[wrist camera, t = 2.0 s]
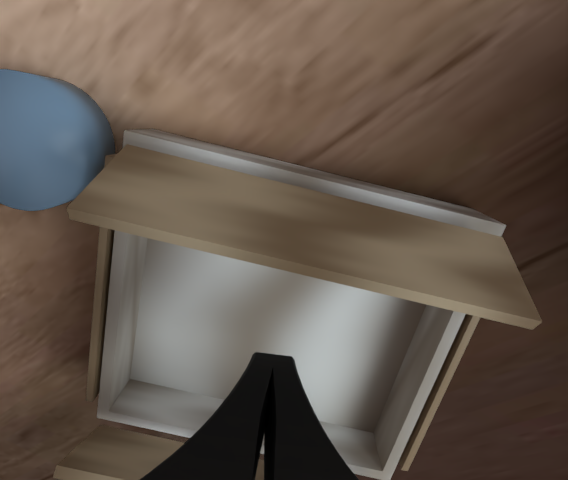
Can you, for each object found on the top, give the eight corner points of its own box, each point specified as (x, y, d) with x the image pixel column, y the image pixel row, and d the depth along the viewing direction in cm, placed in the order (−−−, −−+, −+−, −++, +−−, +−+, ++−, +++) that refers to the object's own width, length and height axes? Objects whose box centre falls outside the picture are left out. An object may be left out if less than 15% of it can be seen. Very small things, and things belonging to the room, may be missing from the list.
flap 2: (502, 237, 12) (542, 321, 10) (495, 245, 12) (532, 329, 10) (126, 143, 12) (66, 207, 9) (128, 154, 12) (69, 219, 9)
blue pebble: (121, 94, 15) (89, 88, 12) (111, 209, 16) (81, 223, 14) (-1, 64, 15) (-57, 53, 12) (0, 184, 16) (-49, 194, 14)
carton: (484, 211, 16) (521, 229, 13) (386, 437, 20) (400, 486, 17) (141, 125, 15) (107, 126, 12) (113, 377, 19) (84, 417, 16)
